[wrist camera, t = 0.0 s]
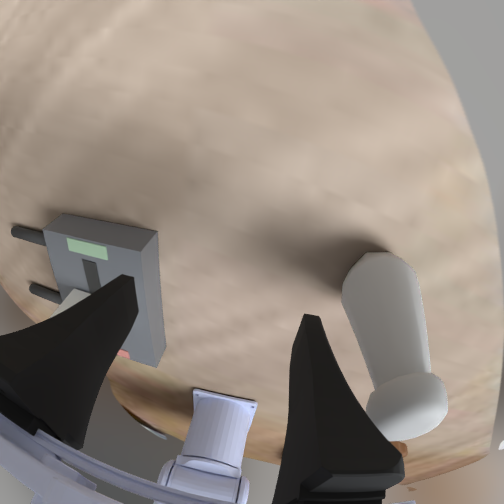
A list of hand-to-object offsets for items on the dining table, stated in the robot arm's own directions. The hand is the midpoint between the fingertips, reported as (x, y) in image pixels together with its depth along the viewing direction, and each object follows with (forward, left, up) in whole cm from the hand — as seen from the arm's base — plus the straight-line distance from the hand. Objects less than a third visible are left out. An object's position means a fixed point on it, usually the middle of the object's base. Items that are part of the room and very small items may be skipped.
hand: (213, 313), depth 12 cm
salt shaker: (-3, -10, -10) cm, 15 cm away
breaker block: (-10, +12, -10) cm, 19 cm away
